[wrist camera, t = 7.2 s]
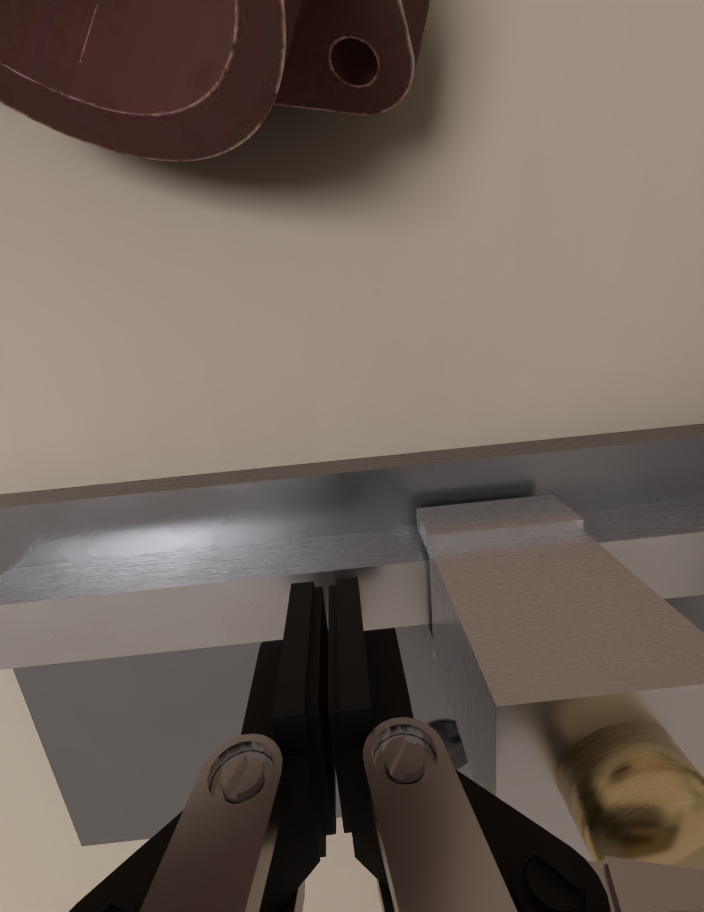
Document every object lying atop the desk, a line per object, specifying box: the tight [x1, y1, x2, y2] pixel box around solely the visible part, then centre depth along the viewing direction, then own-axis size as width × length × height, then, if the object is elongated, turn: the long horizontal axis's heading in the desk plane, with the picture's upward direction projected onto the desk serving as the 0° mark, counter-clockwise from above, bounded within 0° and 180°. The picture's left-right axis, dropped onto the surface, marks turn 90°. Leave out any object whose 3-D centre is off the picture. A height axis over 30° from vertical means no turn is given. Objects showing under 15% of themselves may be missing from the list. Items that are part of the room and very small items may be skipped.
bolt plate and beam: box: [0, 424, 704, 846], centre depth 13 cm, size 30×14×8 cm, turn 95°
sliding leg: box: [416, 494, 704, 870], centre depth 11 cm, size 4×10×8 cm, turn 5°
